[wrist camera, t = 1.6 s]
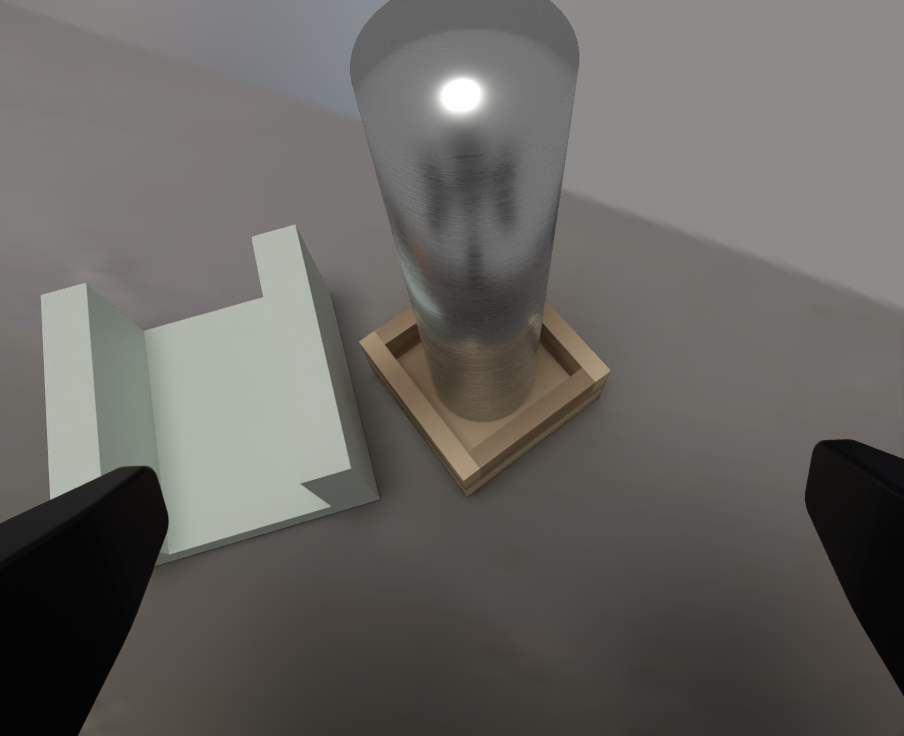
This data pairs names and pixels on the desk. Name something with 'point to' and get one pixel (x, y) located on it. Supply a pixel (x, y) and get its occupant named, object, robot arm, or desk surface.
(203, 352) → the cradle
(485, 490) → the desk surface
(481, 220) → the axle
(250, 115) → the desk surface
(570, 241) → the desk surface
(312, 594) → the desk surface
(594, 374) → the socket block
